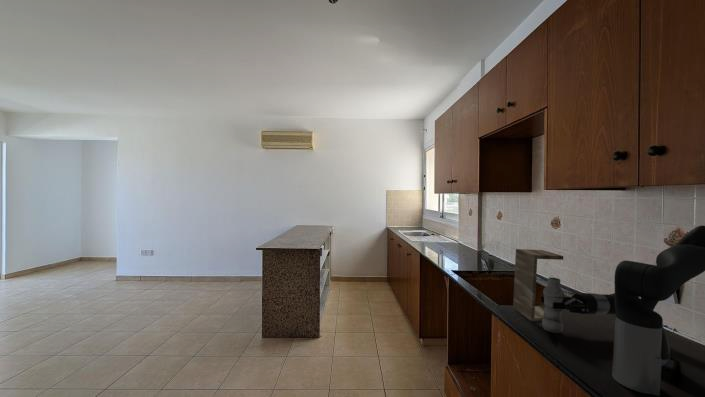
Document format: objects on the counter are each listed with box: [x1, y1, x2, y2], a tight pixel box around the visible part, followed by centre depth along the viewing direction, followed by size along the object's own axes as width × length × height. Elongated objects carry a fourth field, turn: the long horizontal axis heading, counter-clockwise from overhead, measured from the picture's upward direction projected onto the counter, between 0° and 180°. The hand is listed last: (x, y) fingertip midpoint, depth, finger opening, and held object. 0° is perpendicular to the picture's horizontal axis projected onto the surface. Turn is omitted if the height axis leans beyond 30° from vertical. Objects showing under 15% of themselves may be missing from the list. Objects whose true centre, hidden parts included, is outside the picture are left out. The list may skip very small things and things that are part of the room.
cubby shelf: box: [512, 248, 564, 322], centre depth 127 cm, size 12×13×27 cm
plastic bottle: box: [541, 277, 565, 334], centre depth 111 cm, size 6×7×20 cm
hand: (547, 302), depth 111 cm, fingers closed on plastic bottle, 6 cm apart
